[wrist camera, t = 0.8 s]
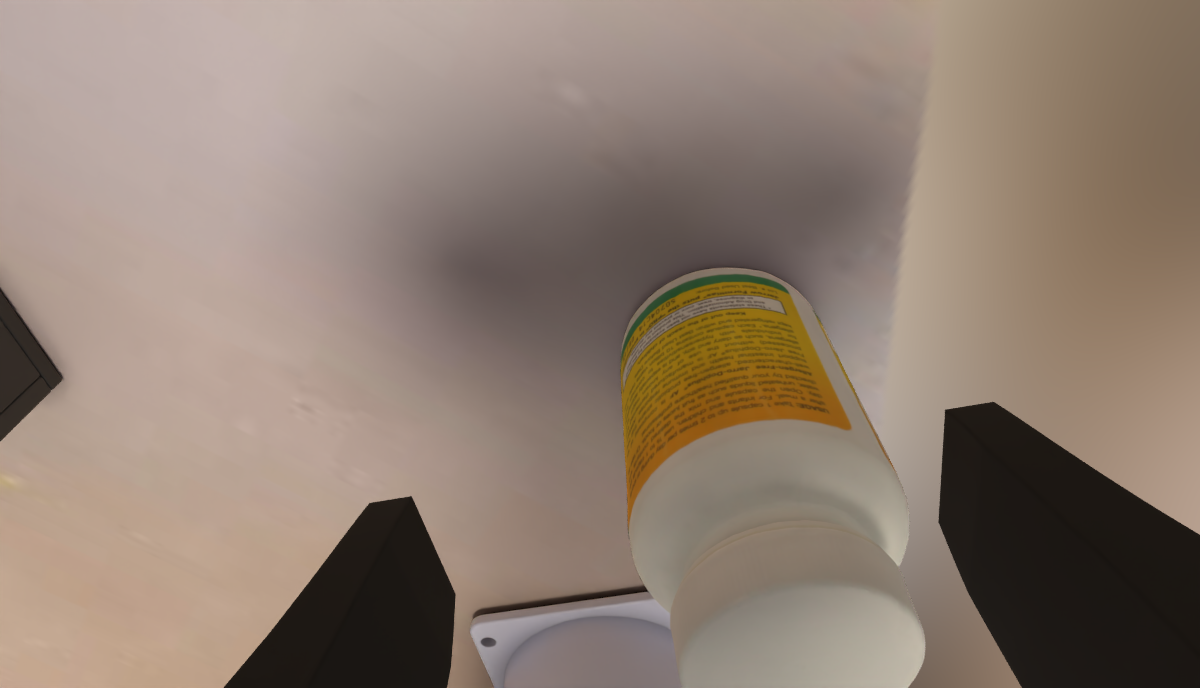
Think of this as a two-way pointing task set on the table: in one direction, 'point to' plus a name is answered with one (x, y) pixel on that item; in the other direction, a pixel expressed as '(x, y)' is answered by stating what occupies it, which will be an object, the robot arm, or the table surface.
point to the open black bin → (20, 370)
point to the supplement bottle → (762, 493)
